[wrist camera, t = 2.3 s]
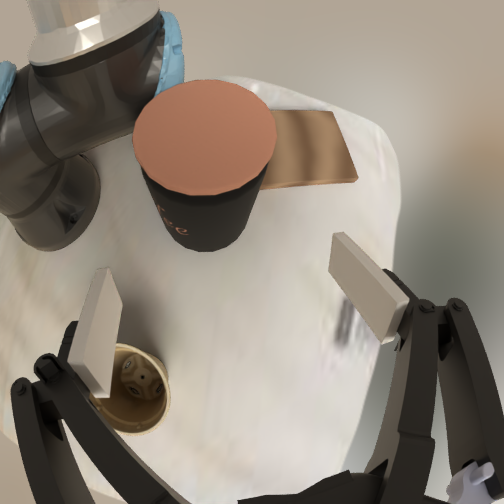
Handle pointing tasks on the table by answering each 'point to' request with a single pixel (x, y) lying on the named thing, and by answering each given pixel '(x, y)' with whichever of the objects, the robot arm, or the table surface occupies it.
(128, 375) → the flower pot
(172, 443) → the table surface
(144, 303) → the table surface
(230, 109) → the coffee jar
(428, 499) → the robot arm
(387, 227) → the table surface
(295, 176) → the walnut board
